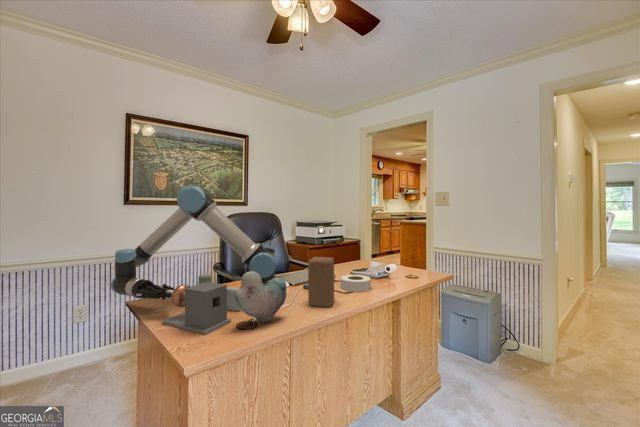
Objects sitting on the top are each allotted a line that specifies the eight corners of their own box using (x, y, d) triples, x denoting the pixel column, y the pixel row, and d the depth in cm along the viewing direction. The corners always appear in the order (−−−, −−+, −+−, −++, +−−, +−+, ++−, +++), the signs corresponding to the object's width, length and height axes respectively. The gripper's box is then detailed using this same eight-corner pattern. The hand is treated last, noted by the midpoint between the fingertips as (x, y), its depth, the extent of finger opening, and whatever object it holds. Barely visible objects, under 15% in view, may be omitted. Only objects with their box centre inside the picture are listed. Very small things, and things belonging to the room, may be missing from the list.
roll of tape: (341, 283, 165) (341, 273, 165) (369, 284, 163) (370, 274, 163) (339, 292, 149) (339, 281, 149) (371, 293, 147) (371, 282, 147)
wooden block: (330, 308, 125) (330, 261, 125) (307, 306, 127) (307, 260, 127) (334, 300, 135) (334, 257, 134) (313, 299, 137) (312, 256, 136)
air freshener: (217, 292, 148) (217, 272, 148) (217, 297, 141) (216, 276, 140) (193, 294, 145) (193, 274, 145) (192, 299, 137) (192, 278, 137)
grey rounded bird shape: (279, 312, 120) (279, 263, 120) (292, 319, 113) (292, 267, 113) (230, 326, 107) (230, 271, 106) (241, 334, 100) (241, 275, 99)
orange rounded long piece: (171, 309, 110) (171, 287, 110) (189, 302, 117) (189, 282, 117) (198, 315, 104) (198, 292, 103) (215, 307, 111) (215, 286, 111)
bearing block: (162, 323, 109) (161, 285, 109) (189, 313, 120) (188, 278, 120) (205, 335, 100) (205, 293, 99) (230, 322, 110) (230, 284, 110)
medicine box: (246, 308, 125) (245, 288, 125) (239, 312, 121) (239, 291, 121) (230, 306, 128) (230, 286, 128) (223, 309, 124) (223, 289, 124)
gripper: (155, 293, 130) (193, 300, 119) (124, 301, 118) (163, 310, 108) (154, 276, 129) (192, 282, 119) (124, 283, 118) (163, 290, 107)
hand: (178, 295), depth 113 cm, fingers closed
